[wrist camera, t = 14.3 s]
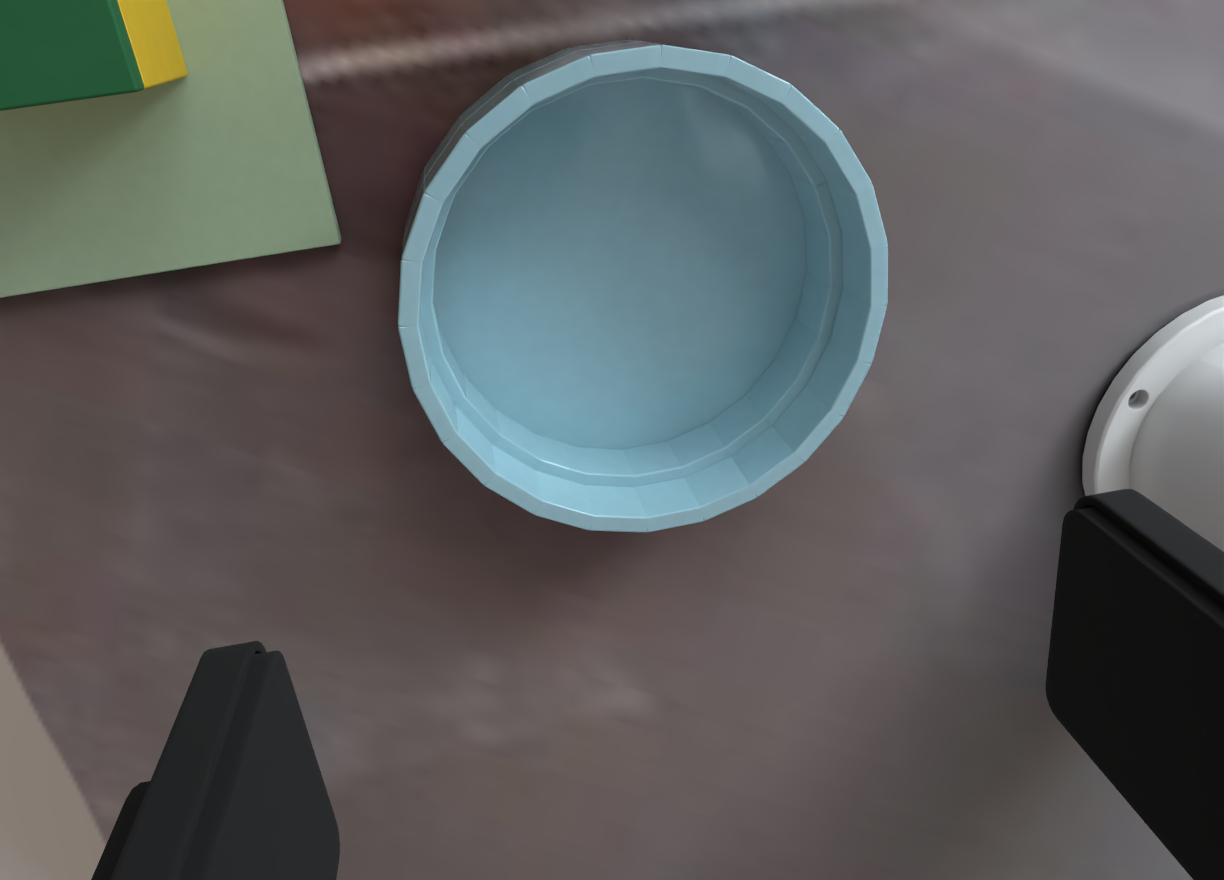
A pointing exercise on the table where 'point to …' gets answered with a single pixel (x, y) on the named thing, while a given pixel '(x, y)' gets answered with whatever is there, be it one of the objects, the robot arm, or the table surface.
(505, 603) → the table surface
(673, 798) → the table surface
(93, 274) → the mat
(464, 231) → the bowl
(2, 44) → the sponge
